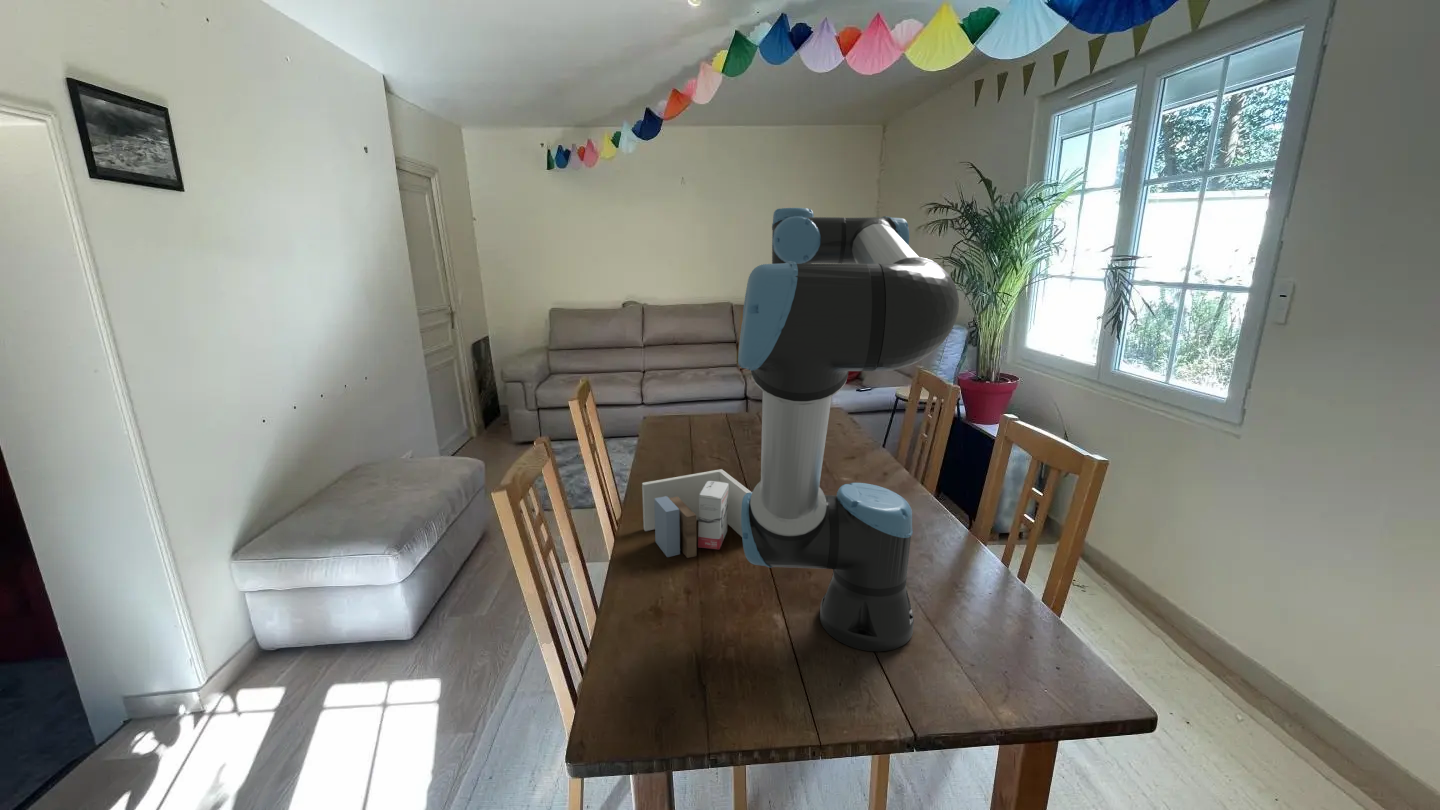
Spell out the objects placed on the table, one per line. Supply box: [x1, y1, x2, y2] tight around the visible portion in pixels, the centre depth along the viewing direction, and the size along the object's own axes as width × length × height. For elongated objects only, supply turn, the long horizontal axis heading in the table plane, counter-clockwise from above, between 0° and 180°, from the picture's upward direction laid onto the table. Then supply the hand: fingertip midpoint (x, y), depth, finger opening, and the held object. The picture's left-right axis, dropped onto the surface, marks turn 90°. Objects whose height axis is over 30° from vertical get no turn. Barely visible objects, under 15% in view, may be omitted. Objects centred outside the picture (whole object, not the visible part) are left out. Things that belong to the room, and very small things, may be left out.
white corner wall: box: [641, 468, 752, 558], centre depth 125 cm, size 16×19×11 cm
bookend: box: [669, 496, 697, 559], centre depth 121 cm, size 10×2×9 cm, turn 26°
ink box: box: [697, 481, 729, 550], centre depth 124 cm, size 9×5×12 cm, turn 168°
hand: (786, 401), depth 117 cm, fingers open, 13 cm apart
